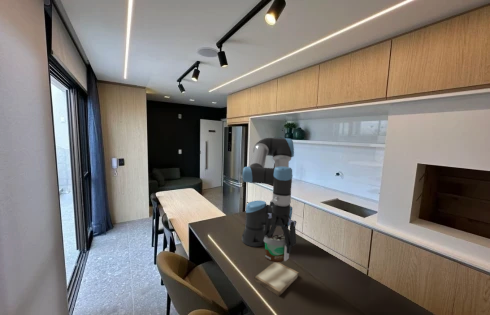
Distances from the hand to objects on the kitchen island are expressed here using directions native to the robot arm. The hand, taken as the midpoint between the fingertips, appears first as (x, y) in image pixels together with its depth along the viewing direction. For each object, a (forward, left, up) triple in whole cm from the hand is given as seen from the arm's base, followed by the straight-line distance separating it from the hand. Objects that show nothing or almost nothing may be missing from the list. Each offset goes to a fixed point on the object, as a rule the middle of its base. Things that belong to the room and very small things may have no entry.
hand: (278, 255), depth 86 cm
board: (0, 0, -11) cm, 11 cm away
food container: (0, 0, -2) cm, 2 cm away
